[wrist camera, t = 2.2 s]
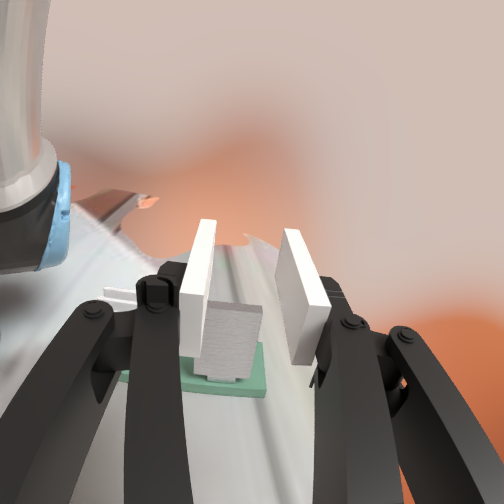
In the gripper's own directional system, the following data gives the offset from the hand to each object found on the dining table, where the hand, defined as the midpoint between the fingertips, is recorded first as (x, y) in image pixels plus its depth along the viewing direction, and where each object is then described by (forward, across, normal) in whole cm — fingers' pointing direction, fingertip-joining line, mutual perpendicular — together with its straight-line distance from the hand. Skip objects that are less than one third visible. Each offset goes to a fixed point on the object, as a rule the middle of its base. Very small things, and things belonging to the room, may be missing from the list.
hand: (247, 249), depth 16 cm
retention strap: (+11, 0, -20) cm, 23 cm away
